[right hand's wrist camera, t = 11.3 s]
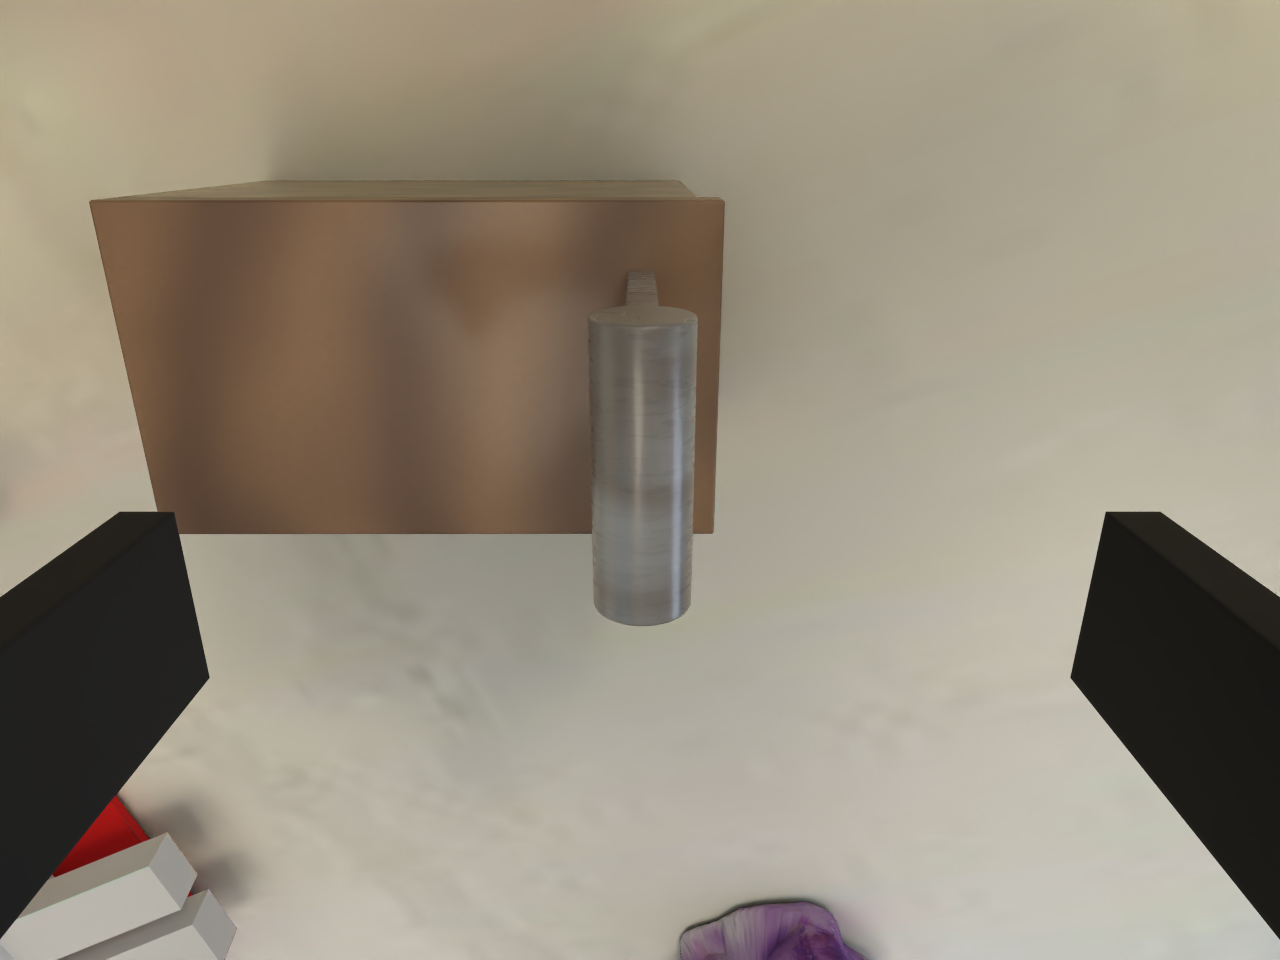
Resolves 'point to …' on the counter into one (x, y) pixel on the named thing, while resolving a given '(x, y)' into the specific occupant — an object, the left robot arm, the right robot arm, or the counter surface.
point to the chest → (433, 189)
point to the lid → (431, 370)
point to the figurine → (769, 935)
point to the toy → (120, 902)
